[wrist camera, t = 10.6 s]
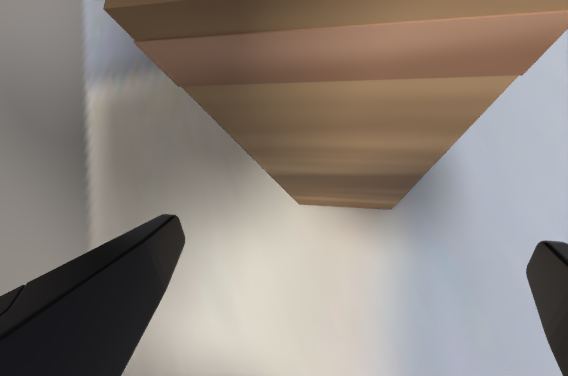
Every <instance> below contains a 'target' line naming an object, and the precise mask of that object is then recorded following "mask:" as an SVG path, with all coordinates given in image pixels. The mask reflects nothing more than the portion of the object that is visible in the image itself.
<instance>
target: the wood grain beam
mask: <svg viewBox="0 0 568 376" xmlns="http://www.w3.org/2000/svg"><path fill="white" fill-rule="evenodd" d="M103 9H104V10H105V11H106V12H107V13H108V14H109V15H110V16H111V17H112V18H113V19H114V20H115V21H116V22H117V23H118V24H119V25H120V26H121V27H122V28H123V29H124V30H125V31H126V32H127V33H128V34H129V35H130V36H131V37H132V38H133V39H134V43H135V44H136V45H137V46H138V47H139V48H140V49H141V50H142V51H143V52H144V53H145V54H146V55H147V56H148V57H149V58H150V59H151V60H152V61H153V62H154V63H155V64H156V65H157V66H158V67H159V68H160V69H161V70H162V71H163V72H164V73H165V74H166V75H167V76H168V77H169V78H170V79H171V80H172V81H173V82H174V83H175V84H176V85H177V86H178V87H182V88H183V89H184V90H185V91H186V92H187V93H188V94H189V95H190V96H191V97H192V98H193V99H194V100H195V101H196V102H197V103H198V104H199V105H200V106H201V107H202V108H203V109H204V110H205V111H206V112H207V113H208V114H209V115H210V116H211V117H212V118H213V119H214V120H215V121H216V122H217V123H218V124H219V125H220V126H221V127H222V128H223V129H224V130H225V131H226V132H227V133H228V134H229V135H230V136H231V137H232V138H233V139H234V140H235V141H236V142H237V143H238V144H239V145H240V146H241V147H242V148H243V149H244V150H245V151H246V152H247V153H248V154H249V155H250V156H251V157H252V158H253V159H254V160H255V161H256V162H257V163H258V164H259V165H260V166H261V167H262V168H263V169H264V170H265V171H266V172H267V173H268V174H269V175H270V176H271V177H272V178H273V179H274V180H275V181H276V182H277V183H278V184H279V185H280V186H281V187H282V188H283V189H284V190H285V191H286V192H287V193H288V194H289V195H290V196H291V197H292V198H293V199H294V200H295V201H296V202H297V203H298V204H301V205H319V206H337V207H355V208H373V209H392V208H393V207H394V206H395V205H396V204H397V203H398V202H399V201H400V200H401V199H402V198H403V197H404V196H405V195H406V194H407V193H408V192H409V191H410V189H411V188H412V187H413V186H414V185H415V184H416V183H417V182H418V181H419V180H420V179H421V178H422V177H423V176H424V175H425V174H426V173H427V172H428V171H429V169H430V168H431V167H432V166H433V165H434V164H435V163H436V162H437V161H438V160H439V159H440V158H441V157H442V156H443V155H444V154H445V153H446V152H447V151H448V149H449V148H450V147H451V146H452V145H453V144H454V143H455V142H456V141H457V140H458V139H459V138H460V137H461V136H462V135H463V134H464V133H465V132H466V131H467V129H468V128H469V127H470V126H471V125H472V124H473V123H474V122H475V121H476V120H477V119H478V118H479V117H480V116H481V115H482V114H483V113H484V112H485V111H486V110H487V108H488V107H489V106H490V105H491V104H492V103H493V102H494V101H495V100H496V99H497V98H498V97H499V96H500V95H501V94H502V93H503V92H504V91H505V90H506V88H507V87H508V86H509V85H510V84H511V83H512V82H513V81H514V80H515V79H516V78H517V77H518V76H519V75H523V74H524V73H525V72H526V71H527V70H528V69H529V68H530V67H531V66H532V65H533V64H534V63H535V62H536V61H537V60H538V59H539V58H540V57H541V56H542V55H543V54H544V53H545V52H546V50H547V49H548V48H549V47H550V46H551V45H552V44H553V43H554V42H555V41H556V40H557V39H558V38H559V37H560V36H561V35H562V34H563V33H564V32H565V31H566V30H567V29H568V0H105V4H104V8H103Z"/></svg>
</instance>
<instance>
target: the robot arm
mask: <svg viewBox="0 0 568 376" xmlns="http://www.w3.org/2000/svg"><path fill="white" fill-rule="evenodd" d="M184 244H185V235H184V232H183V229H182V226H181V223H180V220H179V218H178V217H177V216H176V215H170V214H163V215H160V216H158V217H156V218H154V219H152V220H150V221H148V222H146V223H144V224H142V225H140V226H138V227H136V228H134V229H133V230H131V231H129V232H127V233H125V234H123V235H121V236H119V237H117V238H115V239H113V240H111V241H109V242H107V243H105V244H103V245H101V246H99V247H97V248H95V249H93V250H91V251H89V252H87V253H85V254H83V255H81V256H79V257H77V258H75V259H74V260H71V261H69V262H67V263H66V264H63V265H62V266H60V267H58V268H56V269H54V270H52V271H50V272H48V273H46V274H44V275H42V276H40V277H38V278H36V279H34V280H32V281H30V282H28V283H27V284H26V285H22V286H20V287H18V288H16V289H14V290H12V291H10V292H8V293H6V294H4V295H2V296H0V376H121V375H122V373H123V371H124V369H125V367H126V365H127V364H128V362H129V360H130V358H131V356H132V354H133V352H134V350H135V348H136V347H137V345H138V343H139V341H140V339H141V337H142V335H143V333H144V331H145V329H146V328H147V326H148V324H149V322H150V320H151V318H152V316H153V314H154V312H155V311H156V309H157V307H158V305H159V303H160V301H161V299H162V297H163V295H164V293H165V291H166V289H167V287H168V284H169V282H170V279H171V277H172V274H173V272H174V269H175V267H176V265H177V262H178V260H179V257H180V255H181V252H182V250H183V247H184ZM526 274H527V279H528V282H529V285H530V288H531V291H532V294H533V298H534V301H535V304H536V307H537V310H538V313H539V316H540V319H541V323H542V326H543V329H544V332H545V335H546V337H547V340H548V343H549V345H550V347H551V350H552V352H553V354H554V357H555V359H556V361H557V363H558V366H559V368H560V370H561V372H562V374H563V376H568V244H567V243H564V242H558V241H541V242H539V243H538V245H537V246H536V248H535V250H534V252H533V255H532V257H531V259H530V261H529V263H528V265H527V269H526Z"/></svg>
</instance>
